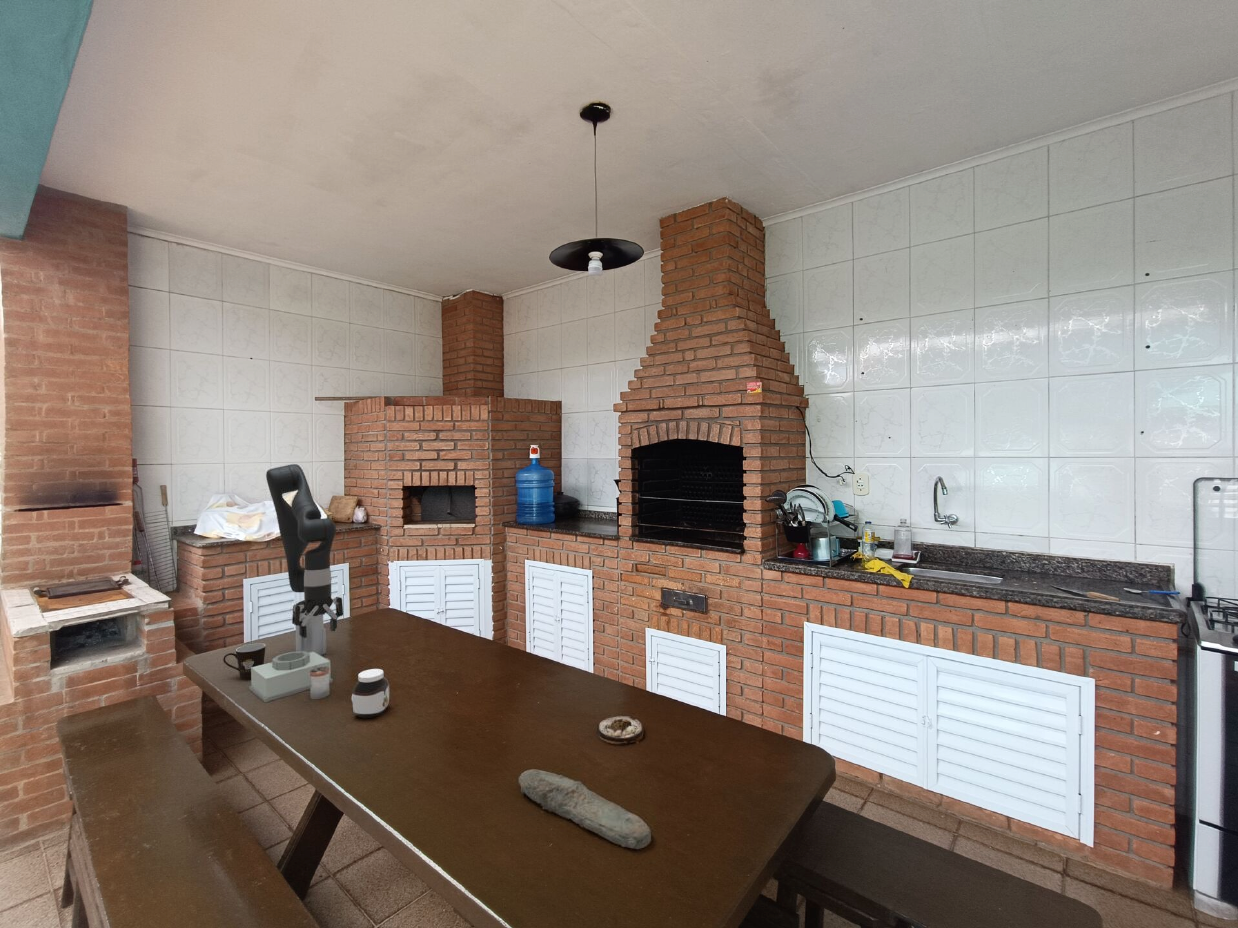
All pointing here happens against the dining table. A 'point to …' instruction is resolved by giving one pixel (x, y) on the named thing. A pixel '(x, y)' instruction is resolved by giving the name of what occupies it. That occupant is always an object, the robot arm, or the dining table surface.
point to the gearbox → (286, 674)
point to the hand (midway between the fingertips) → (318, 633)
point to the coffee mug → (248, 659)
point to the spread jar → (370, 694)
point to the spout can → (319, 682)
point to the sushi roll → (620, 730)
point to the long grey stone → (585, 808)
